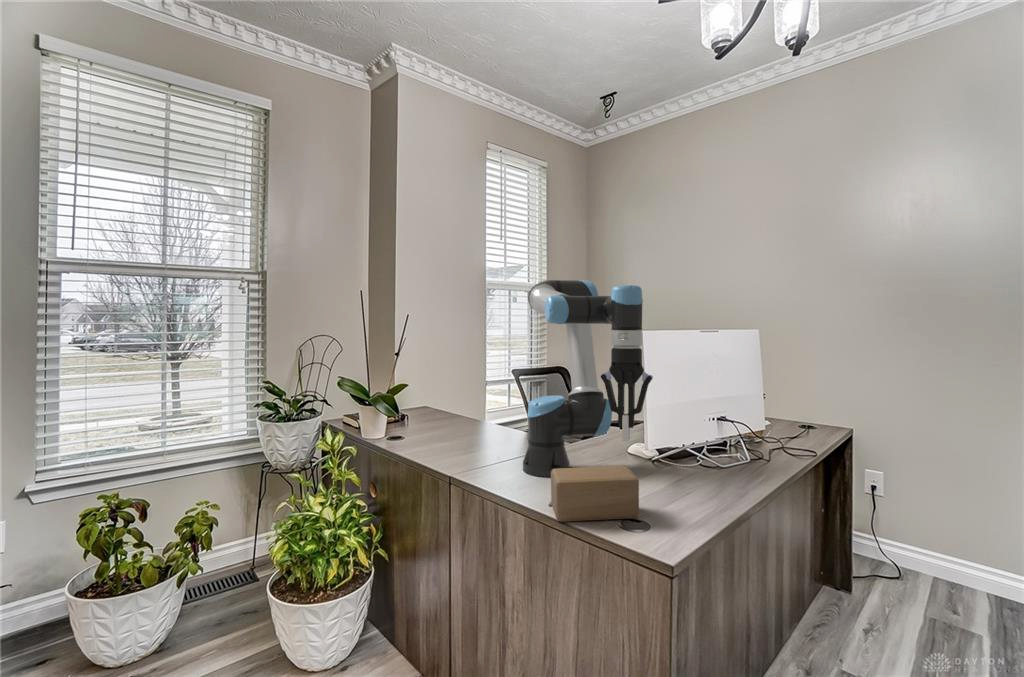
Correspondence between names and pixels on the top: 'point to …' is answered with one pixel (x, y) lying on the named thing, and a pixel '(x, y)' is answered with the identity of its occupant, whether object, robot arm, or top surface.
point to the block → (594, 493)
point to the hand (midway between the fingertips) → (626, 439)
